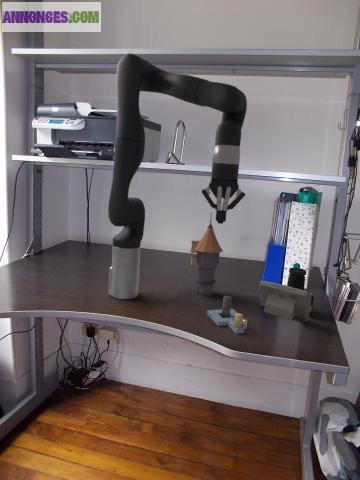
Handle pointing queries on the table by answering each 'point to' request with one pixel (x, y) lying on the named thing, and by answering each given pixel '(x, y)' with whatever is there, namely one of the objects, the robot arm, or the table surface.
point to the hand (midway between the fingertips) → (220, 223)
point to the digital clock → (284, 301)
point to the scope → (299, 283)
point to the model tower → (206, 260)
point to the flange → (228, 320)
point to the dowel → (244, 323)
